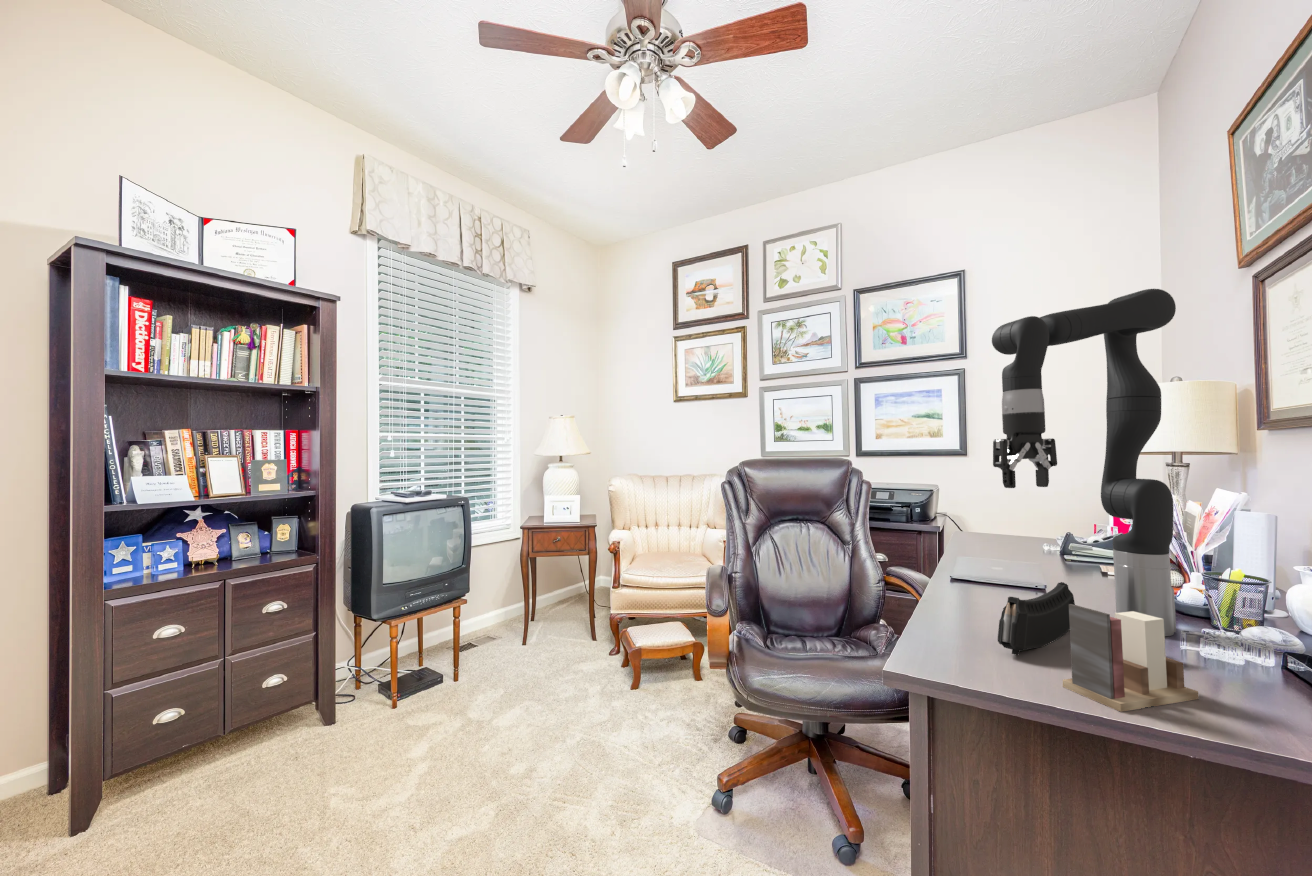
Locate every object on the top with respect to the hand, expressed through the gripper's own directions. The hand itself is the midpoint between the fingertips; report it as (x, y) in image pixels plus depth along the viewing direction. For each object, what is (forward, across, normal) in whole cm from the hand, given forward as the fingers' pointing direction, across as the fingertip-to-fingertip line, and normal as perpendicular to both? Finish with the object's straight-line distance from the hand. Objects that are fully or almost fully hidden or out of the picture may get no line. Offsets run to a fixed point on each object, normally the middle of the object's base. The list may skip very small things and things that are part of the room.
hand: (1026, 487), depth 112 cm
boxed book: (+31, -5, -24) cm, 39 cm away
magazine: (+32, 0, -2) cm, 33 cm away
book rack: (+32, -8, -24) cm, 41 cm away
